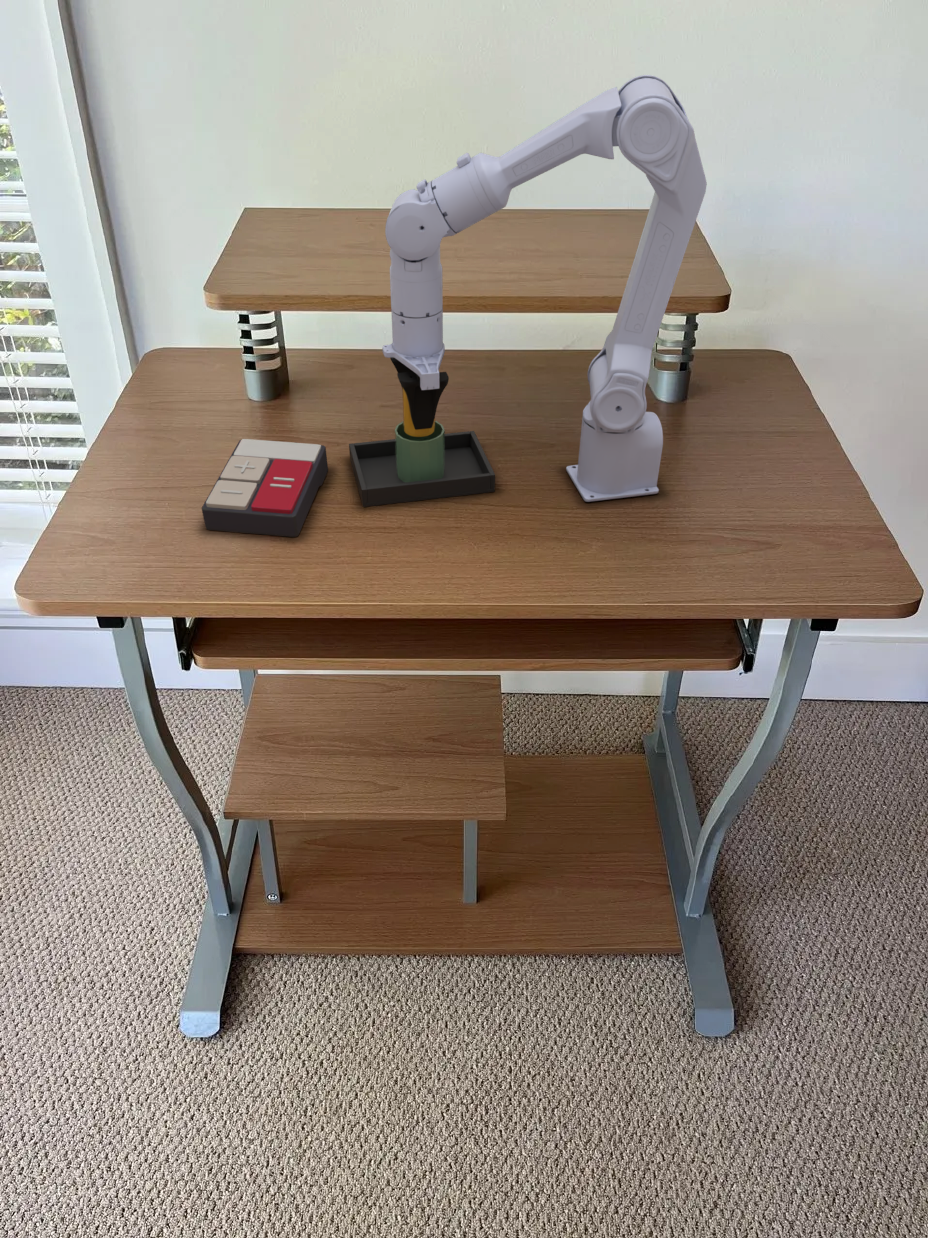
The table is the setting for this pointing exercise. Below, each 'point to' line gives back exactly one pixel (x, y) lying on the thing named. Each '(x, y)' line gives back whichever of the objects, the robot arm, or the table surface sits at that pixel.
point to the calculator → (266, 488)
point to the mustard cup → (408, 422)
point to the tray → (461, 477)
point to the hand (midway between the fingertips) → (419, 418)
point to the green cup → (420, 454)
